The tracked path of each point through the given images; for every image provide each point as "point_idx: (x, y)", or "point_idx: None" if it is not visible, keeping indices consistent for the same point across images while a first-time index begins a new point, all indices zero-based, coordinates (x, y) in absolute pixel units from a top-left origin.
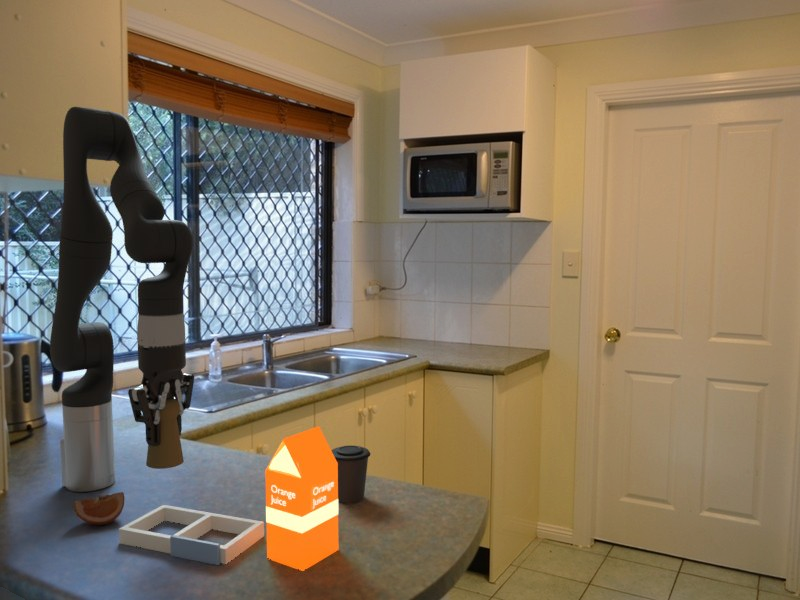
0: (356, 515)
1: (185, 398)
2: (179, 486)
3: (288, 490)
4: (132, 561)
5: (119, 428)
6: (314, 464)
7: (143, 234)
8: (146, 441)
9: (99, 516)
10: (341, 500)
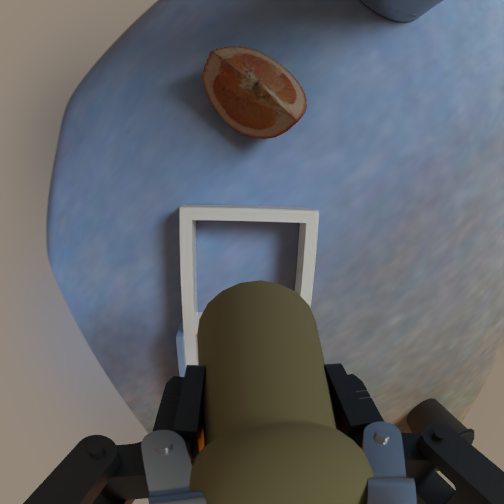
0: None
1: (421, 502)
2: (441, 143)
3: None
4: (141, 275)
5: None
6: None
7: None
8: (171, 379)
9: (228, 112)
10: (410, 415)
